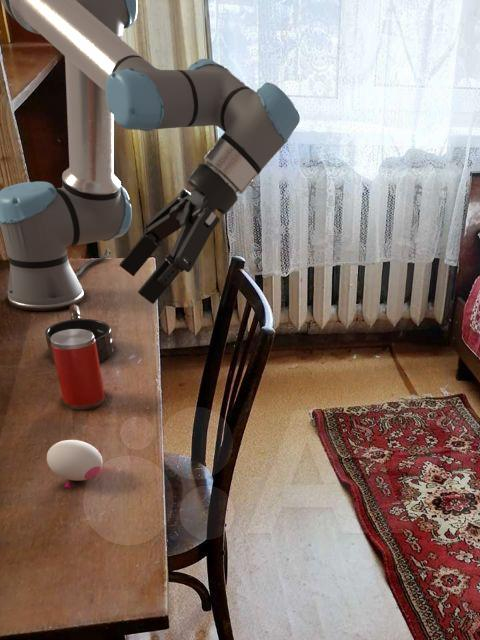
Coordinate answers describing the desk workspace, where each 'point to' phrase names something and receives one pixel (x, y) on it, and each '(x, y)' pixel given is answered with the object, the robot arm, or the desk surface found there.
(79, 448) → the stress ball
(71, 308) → the skillet handle
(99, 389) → the tomato can
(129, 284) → the desk surface
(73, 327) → the skillet
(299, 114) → the robot arm
